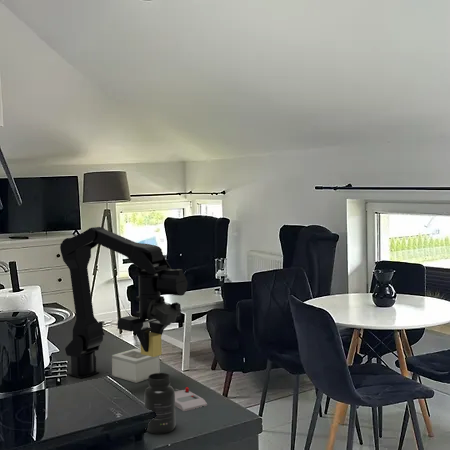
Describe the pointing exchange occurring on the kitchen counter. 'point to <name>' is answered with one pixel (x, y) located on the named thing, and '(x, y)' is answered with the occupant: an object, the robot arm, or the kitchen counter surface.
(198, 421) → the kitchen counter surface
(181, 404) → the white control pad
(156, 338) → the yellow rectangular block
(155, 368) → the coin box
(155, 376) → the supplement bottle
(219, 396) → the kitchen counter surface
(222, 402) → the kitchen counter surface
